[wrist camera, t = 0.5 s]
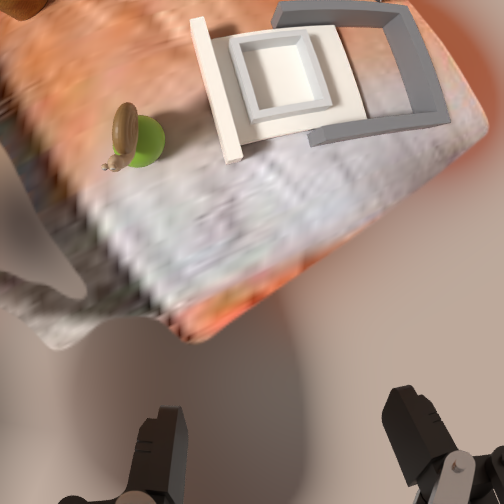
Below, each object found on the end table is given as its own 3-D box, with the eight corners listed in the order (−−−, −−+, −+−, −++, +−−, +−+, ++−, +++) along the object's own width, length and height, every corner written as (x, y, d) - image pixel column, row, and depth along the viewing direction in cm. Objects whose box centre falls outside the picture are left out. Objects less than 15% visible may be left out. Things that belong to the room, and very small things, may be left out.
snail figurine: (118, 178, 32) (75, 171, 20) (123, 122, 31) (84, 90, 19) (166, 178, 33) (142, 170, 21) (170, 121, 32) (150, 86, 20)
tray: (191, 35, 29) (189, 19, 26) (327, 18, 31) (338, 3, 27) (226, 165, 33) (228, 160, 29) (367, 134, 34) (383, 129, 30)
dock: (270, 22, 31) (278, 1, 26) (389, 20, 32) (407, 5, 27) (310, 147, 34) (326, 140, 29) (428, 128, 35) (450, 122, 31)
